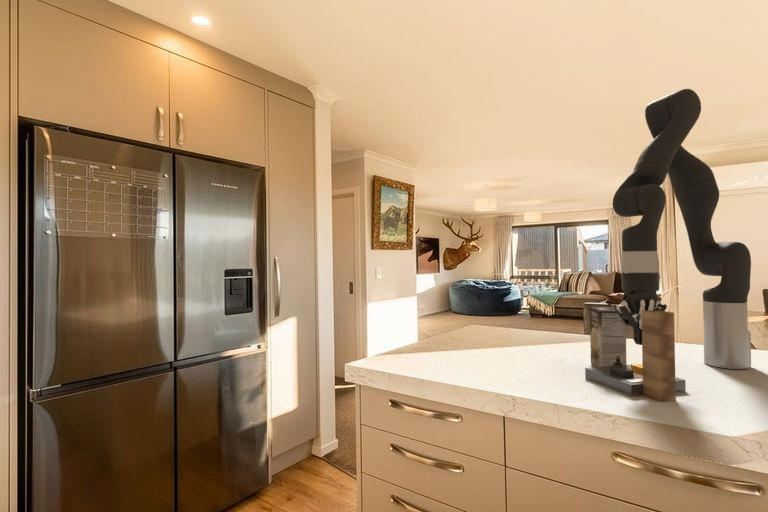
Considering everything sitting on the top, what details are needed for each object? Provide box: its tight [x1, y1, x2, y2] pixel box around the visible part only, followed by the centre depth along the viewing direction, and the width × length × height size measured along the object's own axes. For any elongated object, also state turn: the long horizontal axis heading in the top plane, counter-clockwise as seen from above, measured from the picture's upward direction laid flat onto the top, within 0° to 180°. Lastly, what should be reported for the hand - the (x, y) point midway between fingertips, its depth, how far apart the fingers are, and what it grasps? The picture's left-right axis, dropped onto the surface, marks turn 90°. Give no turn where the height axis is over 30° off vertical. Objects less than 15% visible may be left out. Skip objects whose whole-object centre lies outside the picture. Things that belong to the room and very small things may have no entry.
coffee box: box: [589, 306, 627, 367], centre depth 107 cm, size 9×6×16 cm
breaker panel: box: [584, 363, 687, 397], centre depth 94 cm, size 14×14×4 cm
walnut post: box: [641, 310, 677, 403], centre depth 85 cm, size 4×4×18 cm
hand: (641, 344), depth 95 cm, fingers closed
